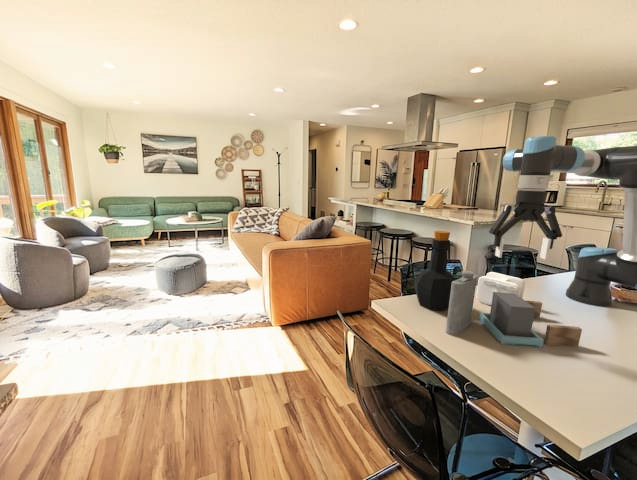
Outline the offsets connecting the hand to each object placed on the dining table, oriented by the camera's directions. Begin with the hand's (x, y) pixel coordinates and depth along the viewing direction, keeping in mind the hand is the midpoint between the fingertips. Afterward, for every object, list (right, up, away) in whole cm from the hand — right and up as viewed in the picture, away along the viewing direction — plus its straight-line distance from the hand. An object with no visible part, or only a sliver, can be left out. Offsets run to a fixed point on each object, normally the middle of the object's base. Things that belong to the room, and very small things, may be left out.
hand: (520, 257), depth 95 cm
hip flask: (-16, -24, +8) cm, 30 cm away
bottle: (-18, -21, +26) cm, 37 cm away
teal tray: (-1, -25, +5) cm, 26 cm away
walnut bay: (+12, -25, +8) cm, 29 cm away
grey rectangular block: (-1, -25, +5) cm, 25 cm away
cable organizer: (+10, -21, +28) cm, 36 cm away
